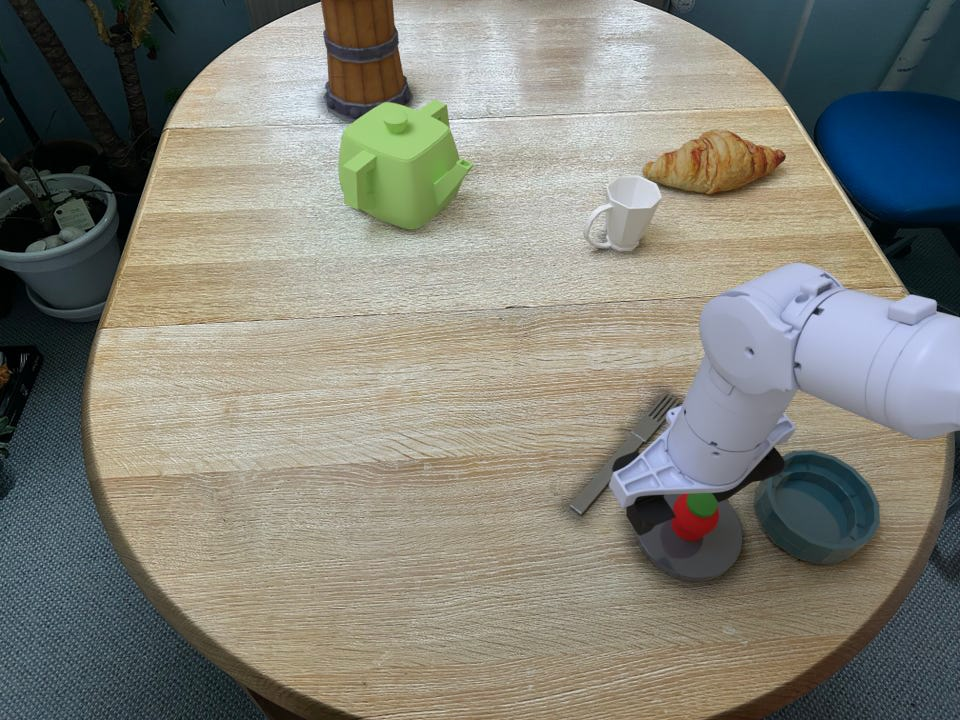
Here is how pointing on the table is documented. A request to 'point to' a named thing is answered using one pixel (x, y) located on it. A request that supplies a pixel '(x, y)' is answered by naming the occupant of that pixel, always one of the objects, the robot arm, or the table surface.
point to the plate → (694, 547)
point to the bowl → (817, 508)
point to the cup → (626, 211)
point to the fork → (624, 453)
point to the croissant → (714, 163)
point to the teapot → (401, 163)
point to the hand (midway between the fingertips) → (676, 507)
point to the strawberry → (695, 515)
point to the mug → (362, 57)
